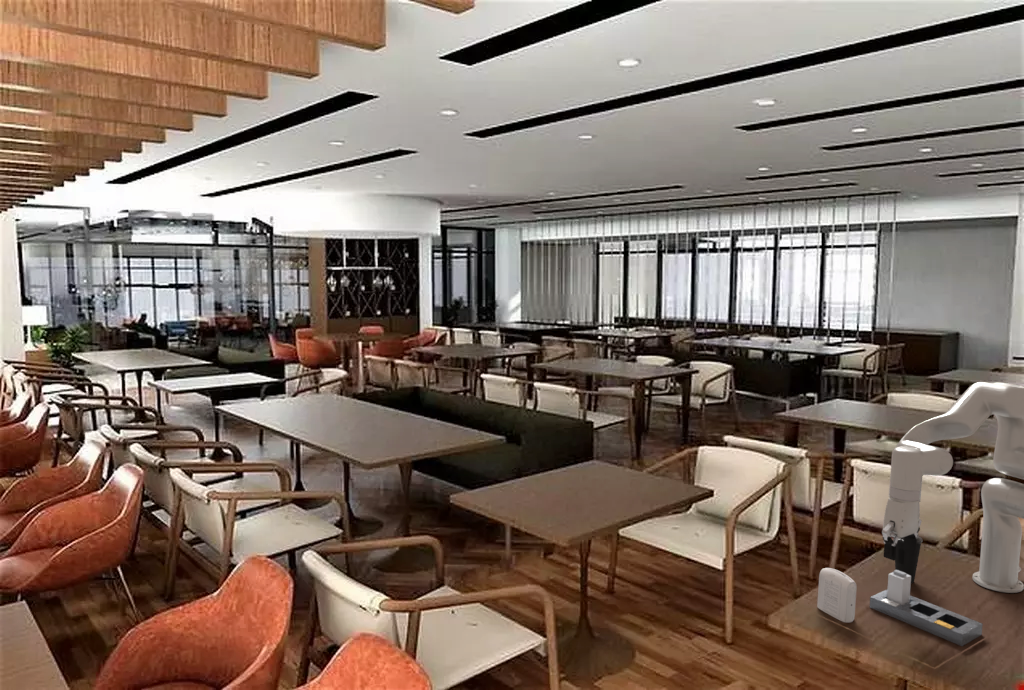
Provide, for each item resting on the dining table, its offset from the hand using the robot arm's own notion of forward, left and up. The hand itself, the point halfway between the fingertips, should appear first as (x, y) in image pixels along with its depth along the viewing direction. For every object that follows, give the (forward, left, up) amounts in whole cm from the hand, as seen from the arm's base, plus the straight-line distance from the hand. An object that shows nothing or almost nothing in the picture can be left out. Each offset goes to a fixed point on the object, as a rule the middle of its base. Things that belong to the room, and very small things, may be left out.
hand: (899, 554), depth 197 cm
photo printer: (+16, -8, -16) cm, 24 cm away
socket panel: (0, +7, -16) cm, 18 cm away
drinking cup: (-20, -9, -16) cm, 28 cm away
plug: (0, 0, -16) cm, 16 cm away
